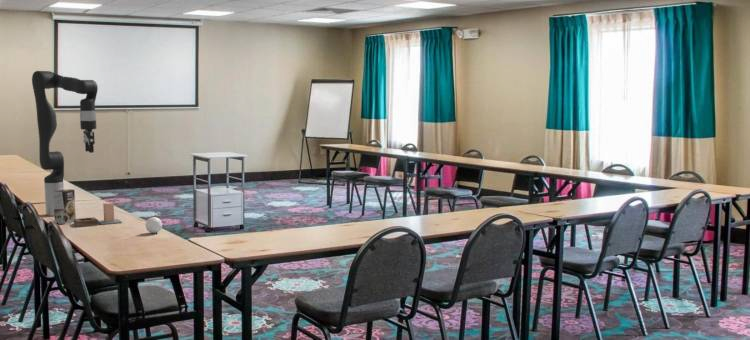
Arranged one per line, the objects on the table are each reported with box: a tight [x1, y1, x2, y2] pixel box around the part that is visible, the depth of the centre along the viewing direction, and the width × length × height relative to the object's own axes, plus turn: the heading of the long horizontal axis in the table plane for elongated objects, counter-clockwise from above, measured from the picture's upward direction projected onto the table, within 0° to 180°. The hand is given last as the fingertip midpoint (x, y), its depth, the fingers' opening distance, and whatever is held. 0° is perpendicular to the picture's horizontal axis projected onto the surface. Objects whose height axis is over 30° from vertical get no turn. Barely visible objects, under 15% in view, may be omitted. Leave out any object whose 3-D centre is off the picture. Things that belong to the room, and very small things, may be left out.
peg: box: [102, 202, 115, 222], centre depth 394 cm, size 4×4×9 cm
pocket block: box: [73, 216, 99, 228], centre depth 389 cm, size 10×10×2 cm
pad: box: [98, 218, 123, 226], centre depth 394 cm, size 10×10×1 cm
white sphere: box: [145, 217, 163, 234], centre depth 365 cm, size 10×7×7 cm
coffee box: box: [53, 189, 77, 225], centre depth 394 cm, size 9×6×16 cm
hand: (89, 151), depth 403 cm, fingers open, 8 cm apart
